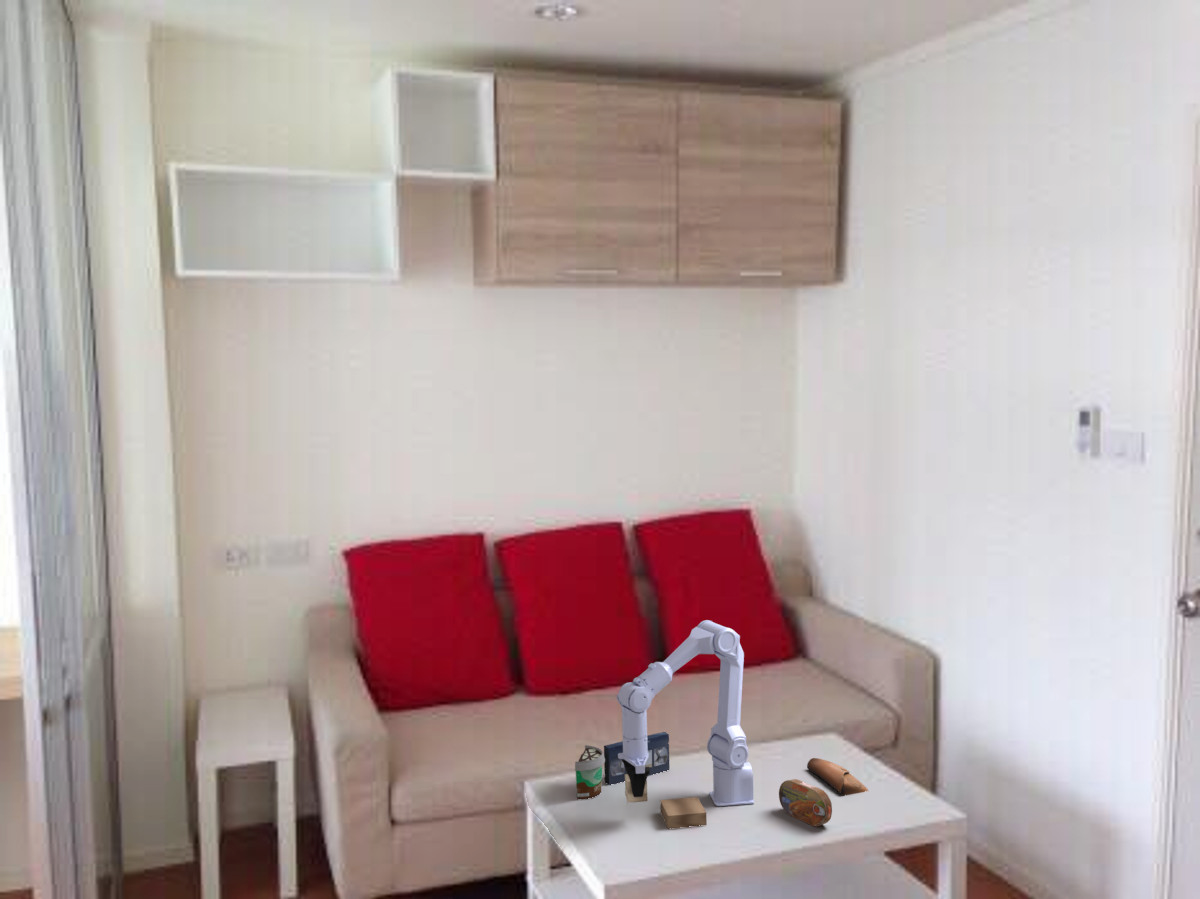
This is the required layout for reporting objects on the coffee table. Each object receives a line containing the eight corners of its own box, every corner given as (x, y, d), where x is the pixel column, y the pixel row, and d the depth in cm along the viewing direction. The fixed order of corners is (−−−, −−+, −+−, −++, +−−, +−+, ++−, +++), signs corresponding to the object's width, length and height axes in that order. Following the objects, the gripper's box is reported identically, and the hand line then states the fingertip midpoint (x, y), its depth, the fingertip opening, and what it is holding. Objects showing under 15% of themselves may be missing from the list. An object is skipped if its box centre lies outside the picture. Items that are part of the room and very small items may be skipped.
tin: (777, 810, 263) (777, 776, 263) (787, 806, 265) (787, 772, 264) (824, 832, 251) (824, 796, 250) (834, 828, 253) (834, 792, 252)
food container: (600, 803, 270) (599, 763, 269) (575, 802, 271) (574, 762, 270) (610, 783, 282) (609, 745, 281) (586, 782, 283) (585, 744, 282)
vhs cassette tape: (608, 786, 280) (607, 748, 279) (603, 782, 283) (602, 744, 282) (670, 771, 289) (670, 734, 288) (665, 768, 291) (664, 731, 290)
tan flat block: (697, 810, 265) (697, 796, 265) (706, 827, 256) (706, 812, 256) (660, 814, 264) (660, 800, 263) (668, 830, 255) (668, 815, 254)
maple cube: (644, 793, 260) (643, 772, 260) (647, 801, 256) (646, 780, 255) (625, 794, 260) (624, 774, 259) (628, 802, 255) (627, 781, 255)
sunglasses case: (872, 791, 273) (859, 770, 271) (850, 808, 271) (837, 788, 270) (835, 765, 290) (823, 745, 288) (814, 781, 288) (802, 762, 287)
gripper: (613, 725, 263) (615, 781, 264) (622, 747, 249) (623, 806, 250) (642, 723, 264) (644, 778, 265) (653, 745, 250) (654, 803, 251)
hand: (636, 791), depth 258 cm, fingers closed on maple cube, 4 cm apart
